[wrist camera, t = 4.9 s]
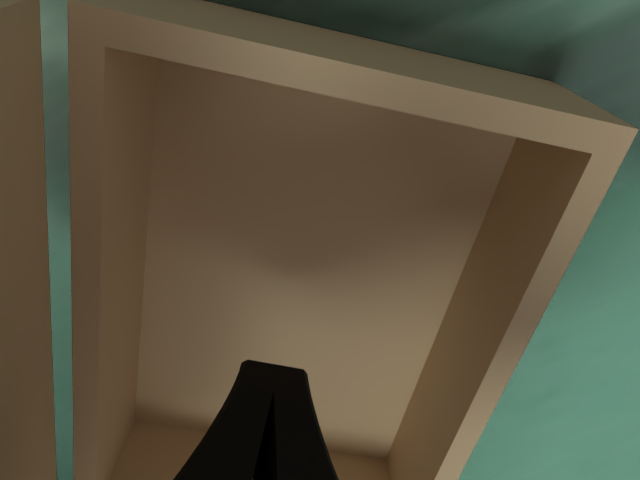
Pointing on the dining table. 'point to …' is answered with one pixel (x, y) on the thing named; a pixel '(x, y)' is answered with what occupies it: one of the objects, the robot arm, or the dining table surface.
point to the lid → (24, 254)
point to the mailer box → (309, 231)
